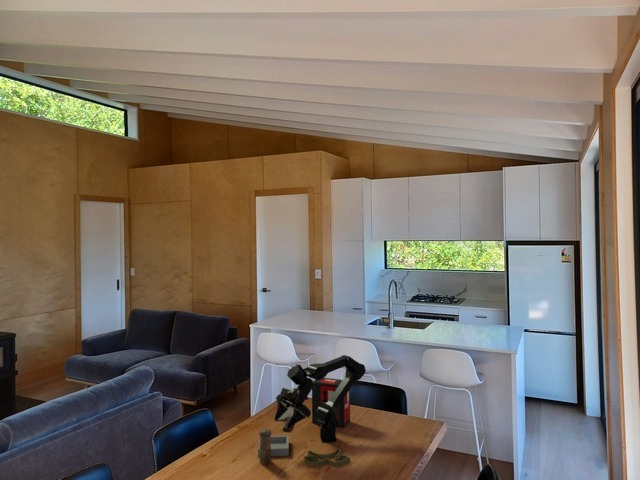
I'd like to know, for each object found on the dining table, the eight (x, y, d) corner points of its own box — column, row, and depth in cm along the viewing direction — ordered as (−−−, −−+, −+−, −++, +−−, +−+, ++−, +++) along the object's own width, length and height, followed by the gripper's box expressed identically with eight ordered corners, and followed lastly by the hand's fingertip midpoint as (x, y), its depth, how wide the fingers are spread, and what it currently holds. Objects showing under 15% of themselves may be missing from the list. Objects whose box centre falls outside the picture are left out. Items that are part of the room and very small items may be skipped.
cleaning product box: (350, 421, 219) (349, 380, 219) (344, 428, 211) (343, 385, 211) (319, 416, 225) (318, 377, 225) (312, 423, 217) (311, 382, 217)
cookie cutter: (344, 452, 187) (344, 447, 187) (351, 465, 175) (351, 460, 175) (302, 456, 184) (302, 451, 184) (306, 470, 172) (306, 465, 172)
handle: (271, 459, 180) (271, 428, 181) (270, 464, 176) (270, 432, 176) (259, 459, 180) (259, 428, 180) (259, 465, 175) (259, 433, 176)
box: (288, 442, 196) (288, 435, 196) (288, 455, 183) (288, 448, 183) (260, 443, 195) (260, 436, 195) (258, 456, 182) (258, 449, 182)
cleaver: (294, 431, 208) (294, 427, 208) (273, 432, 207) (273, 428, 207) (293, 409, 237) (293, 405, 237) (275, 410, 236) (275, 406, 236)
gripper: (279, 375, 194) (257, 406, 187) (305, 385, 179) (282, 419, 172) (294, 389, 199) (273, 420, 192) (320, 400, 184) (298, 434, 177)
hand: (281, 423), depth 183 cm, fingers open, 9 cm apart
